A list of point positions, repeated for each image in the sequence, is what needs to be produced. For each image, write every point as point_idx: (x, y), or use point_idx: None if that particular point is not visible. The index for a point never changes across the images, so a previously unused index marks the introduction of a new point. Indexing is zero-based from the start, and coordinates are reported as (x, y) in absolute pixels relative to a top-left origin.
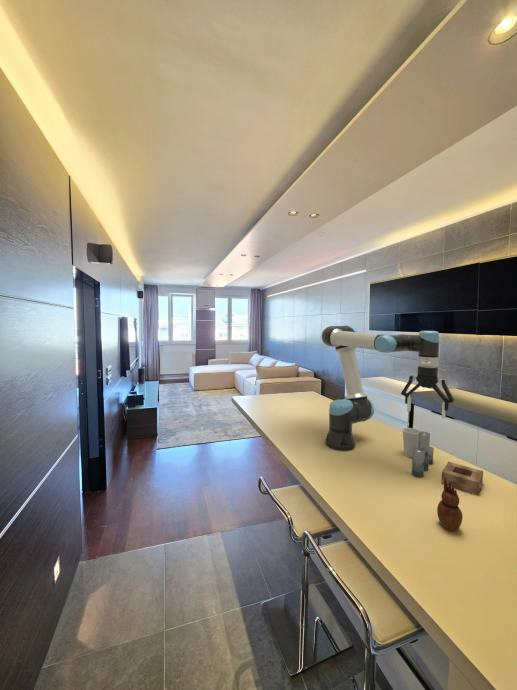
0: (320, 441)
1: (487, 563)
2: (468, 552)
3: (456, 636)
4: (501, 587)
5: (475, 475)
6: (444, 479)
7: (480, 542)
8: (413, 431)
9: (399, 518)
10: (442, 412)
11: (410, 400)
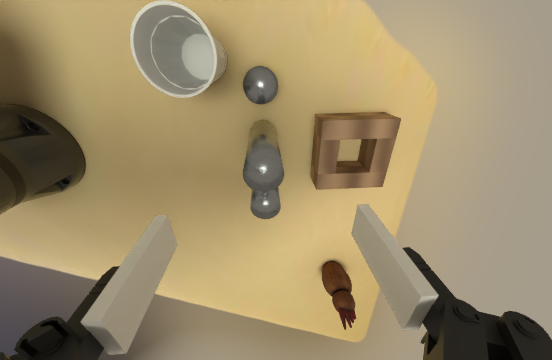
0: None
1: (363, 287)
2: None
3: (341, 337)
4: (370, 300)
5: (380, 158)
6: (343, 326)
7: (361, 269)
8: (169, 10)
9: (283, 285)
10: (369, 261)
11: (130, 291)
